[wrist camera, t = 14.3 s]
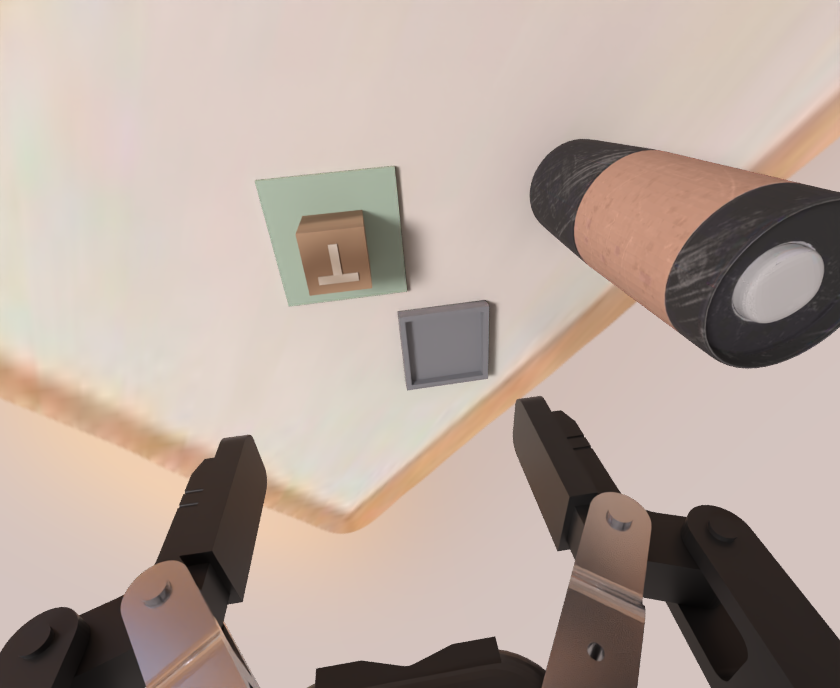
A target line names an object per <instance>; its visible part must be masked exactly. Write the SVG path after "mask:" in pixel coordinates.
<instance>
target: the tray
mask: <svg viewBox="0 0 840 688" xmlns="http://www.w3.org/2000/svg"><path fill="white" fill-rule="evenodd" d="M398 320H399V329H400V337H401V346H402V354H403V363H404V371H405V380H406V387H407V390H413V389H420V388H427V387H434V386H441V385H448V384H454V383H461V382H468V381H475V380H482V379H488V346H489V305H488V303H487V302H486V300H482V301H475V302H467V303H459V304H452V305H444V306H436V307H428V308H421V309H413V310H405V311H398Z"/></svg>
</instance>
